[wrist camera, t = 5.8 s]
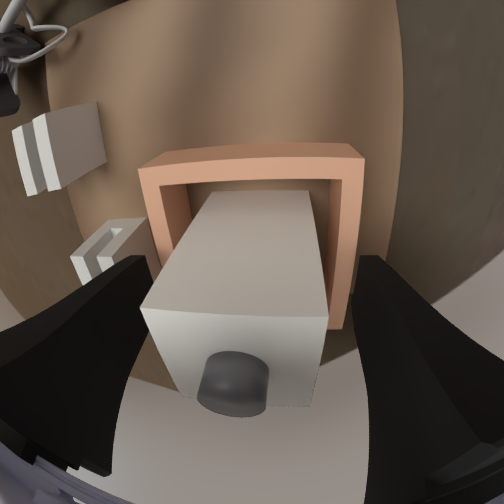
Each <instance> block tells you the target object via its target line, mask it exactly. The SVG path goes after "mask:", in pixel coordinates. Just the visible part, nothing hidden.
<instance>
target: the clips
mask: <svg viewBox="0 0 504 504" xmlns="http://www.w3.org/2000/svg"><path fill="white" fill-rule="evenodd" d="M12 134H13V140H14V145H15V150H16V154H17V159H18V163H19V167H20V171H21V175H22V179H23V182H24V186H25V189H26V193H27V196H31V195H35V194H38V193H40V192H41V191H43V190H45V189H46V188H48V191H53V190H57V189H61V188H63V187H65V186H66V185H68V184H69V183H71V182H73V181H74V180H76V179H78V178H79V177H81V176H83V175H84V174H86V173H88V172H90V171H91V170H93V169H95V168H97V167H99V166H100V165H102V164H104V163H106V162H107V158H106V153H105V148H104V143H103V138H102V132H101V127H100V121H99V114H98V108H97V101H95V102H90V103H85V104H80V105H76V106H71V107H67V108H63V109H59V110H55V111H52V112H48V113H45V114H43V115H40V116H39V117H37V118H35V119H33V122H30V123H27V124H24V125H22V126H20V127H18V128H16V129H14V130H13V131H12ZM130 255H145V257H146V260H147V263H148V266H149V269H150V272H151V276H152V279H153V282H154V280H155V278H156V277H157V275H158V273H159V272H160V270H161V267H160V264H159V260H158V257H157V254H156V250H155V246H154V243H153V239H152V235H151V232H150V228H149V224H148V220H147V217H144V218H128V219H114V220H107V221H106V222H105V223H104V224H103V225H102V226H101V227H100V228H99V229H98V230H97V231H95V232H94V233H93V234H92V235H91V236H90V237H89V238H88V239H87V240H86V241H85V242H84V243H83V244H82V245H81V246H80V247H79V248H78V249H77V250H76V251H75V252H74V253H73V254H72V255H71V256H70V257H71V260H72V262H73V264H74V267H75V269H76V271H77V273H78V276H79V278H80V280H81V282H82V284H83V285H85V284H86V283H88V282H89V281H90V280H92V279H93V278H95V277H96V276H98V275H99V274H101V273H102V272H104V271H105V270H107V269H108V268H110V267H111V266H113V265H114V264H116V263H117V262H119V261H121V260H122V259H124V258H126V257H128V256H130Z"/></svg>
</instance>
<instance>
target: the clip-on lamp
mask: <svg viewBox="0 0 504 504" xmlns="http://www.w3.org/2000/svg"><path fill="white" fill-rule="evenodd" d="M26 1H27V0H12V2H11V3H10V5H9V7H8V9H7V10H6V12H5V14H4V16H3V18H2V20H1V22H0V117H3V116H8V115H12V114H15V113H16V112H17V111H18V110H19V106H20V99H19V97H18V95H17V79H18V66H19V64H20V63H26V62H29V61H32V60H34V59H36V58H38V57H40V56H42V55H44V54H45V53H47V52H49V51H50V50H52V49H53V48H55V47H56V46H58V45H59V44H60V43H62V42H63V41H64V40H65V39H66V38H67V37H68V35H69V33H70V32H69V29H68V28H66V27H65V26H60V25H37V23H36V21H35V19H34V17H33V15H32V13H31V12H30V10H29V9H28V7H27V6H26V5H25V3H26ZM21 10H22V11H23V12H24V14H25V15H26V17H27V19H28V21H29V23H30V27H31V30H33V31H35V32H38V31H45V30H62V31H65V33H64V34H63V35H62V36H61V37H60V38H59V39H57V40H56V41H54V42H53V43H51V44H50V45H48V46H46V47H45V48H43V49H42V50H40V51H39V49H40V47H41V45H40V44H39V43H37V42H36V41H34V40H33V39H31V38H30V37H28V36H27V35H25V34H23V33H22V30H23V28H24V27H23V26H21V25H18V24H14V22H15V20H16V18H17V16H18V15H19V13H20V11H21Z"/></svg>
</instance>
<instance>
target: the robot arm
mask: <svg viewBox="0 0 504 504" xmlns="http://www.w3.org/2000/svg"><path fill="white" fill-rule="evenodd" d="M153 284H154V282H153V279H152V276H151V272H150V269H149V266H148V263H147V260H146V257H145V255H130V256H128V257H126V258H124V259H122V260H121V261H119V262H117V263H116V264H114V265H113V266H111V267H110V268H108V269H107V270H105V271H104V272H102V273H101V274H99V275H98V276H96V277H95V278H93V279H92V280H90V281H89V282H88V283H86V284H85V285H83V286H82V287H80V288H79V289H77V290H76V291H74V292H73V293H71V294H70V295H68V296H67V297H65V298H64V299H62V300H61V301H59V302H58V303H56V304H54V305H53V306H51V307H49V308H48V309H46V310H44V311H42V312H41V313H39V314H37V315H35V316H33V317H31V318H29V319H27V320H25V321H23V322H21V323H19V324H17V325H16V326H13V327H11V328H9V329H6V330H4V331H1V332H0V504H79V503H77V502H75V501H74V500H73V497H75V498H76V499H78V500H80V501H82V502H84V503H86V504H134V503H131V502H129V501H126V500H124V499H121V498H119V497H116V496H113V495H111V494H109V493H107V492H105V491H102V490H100V489H98V488H96V487H94V486H92V485H90V484H88V483H86V482H84V481H81V480H80V479H78V478H76V477H74V476H72V475H70V474H69V473H67V472H66V470H67V467H68V466H69V467H71V468H73V469H75V470H79V467H80V466H81V467H83V468H85V469H87V470H89V471H91V472H93V473H96V474H98V475H100V476H103V477H106V476H109V475H110V474H111V473H112V453H113V443H114V435H115V429H116V423H117V418H118V413H119V409H120V404H121V400H122V397H123V393H124V390H125V386H126V383H127V380H128V377H129V375H130V372H131V370H132V367H133V365H134V363H135V361H136V358H137V356H138V354H139V352H140V349H141V347H142V345H143V343H144V341H145V338H146V336H147V334H148V332H149V328H148V326H147V324H146V322H145V319H144V317H143V314H142V312H141V310H140V306H141V304H142V303H143V301H144V299H145V297H146V296H147V294H148V292H149V291H150V289H151V287H152V285H153ZM351 305H352V314H353V323H354V331H355V336H356V340H357V344H358V349H359V353H360V358H361V363H362V367H363V372H364V377H365V383H366V388H367V395H368V409H369V463H368V476H367V485H366V493H365V500H364V504H504V361H503V360H502V359H500V358H499V357H497V356H495V355H494V354H492V353H491V352H489V351H488V350H487V349H485V348H484V347H482V346H481V345H479V344H478V343H476V342H475V341H474V340H472V339H470V337H468V336H467V335H466V334H464V333H463V332H462V331H461V330H459V329H458V328H457V327H455V326H454V325H453V324H451V323H450V322H449V321H448V320H447V319H446V318H444V317H443V316H442V315H441V314H440V313H439V312H438V311H437V310H436V309H434V308H433V307H432V306H431V305H430V304H429V303H428V302H427V301H426V300H424V299H423V298H422V297H421V296H420V295H419V294H418V293H417V292H416V291H415V290H414V289H413V288H412V287H411V286H410V285H409V284H408V283H407V282H406V281H405V280H404V279H403V278H402V277H401V276H400V275H399V274H397V273H396V272H395V271H394V270H393V269H392V268H391V267H390V266H389V265H388V264H387V263H386V262H385V261H384V260H383V259H382V258H381V257H379V256H378V255H360V258H359V264H358V270H357V276H356V282H355V287H354V292H353V297H352V302H351Z"/></svg>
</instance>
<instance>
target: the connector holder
mask: <svg viewBox="0 0 504 504" xmlns="http://www.w3.org/2000/svg"><path fill="white" fill-rule="evenodd" d="M364 164H365V158H364V157H362V156H361V155H360V154H359V153H358V152H357V151H356V150H355V149H354V148H353V147H352V146H350V145H349V144H346V143H258V144H239V145H225V146H213V147H202V148H193V149H184V150H176V151H168V152H164V153H163V154H161V155H159V156H158V157H156V158H154V159H153V160H151V161H149V162H148V163H146V164H145V165H143V166H141V167H140V168H138V173H139V178H140V183H141V187H142V192H143V196H144V200H145V205H146V209H147V213H148V217H149V221H150V225H151V229H152V233H153V236H154V240H155V244H156V248H157V251H158V255H159V258H160V262H161V265H162V268H163V267H164V265H165V264H166V262H167V260H168V259H169V257H170V256H171V254H172V252H173V251H174V249H175V248H176V246H177V244H178V243H179V241H180V240H181V238H182V236H183V235H184V233H185V232H186V230H187V229H188V227H189V226H190V224H191V223H192V216H191V210H190V205H189V199H188V193H187V187H186V183H199V182H214V181H232V180H257V179H330V202H329V222H328V238H327V251H326V263H325V274H324V284H325V291H326V299H327V306H328V314H329V319H328V324H327V329H342V327H343V323H344V318H345V313H346V308H347V303H348V297H349V292H350V286H351V280H352V274H353V268H354V261H355V255H356V247H357V240H358V232H359V223H360V214H361V204H362V193H363V180H364Z"/></svg>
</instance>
